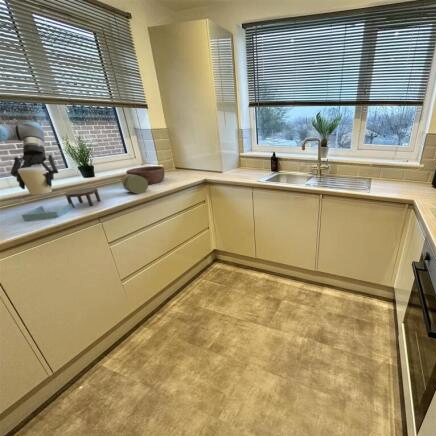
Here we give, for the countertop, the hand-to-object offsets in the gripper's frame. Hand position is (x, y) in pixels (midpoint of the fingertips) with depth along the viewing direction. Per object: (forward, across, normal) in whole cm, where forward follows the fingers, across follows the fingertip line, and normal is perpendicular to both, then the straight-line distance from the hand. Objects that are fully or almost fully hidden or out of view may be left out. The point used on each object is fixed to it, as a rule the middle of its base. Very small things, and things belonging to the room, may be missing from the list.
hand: (36, 186), depth 114 cm
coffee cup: (+1, 0, -5) cm, 5 cm away
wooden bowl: (-28, -45, -50) cm, 73 cm away
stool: (+2, -13, -20) cm, 24 cm away
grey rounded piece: (-8, -37, -30) cm, 49 cm away
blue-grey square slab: (+9, 0, -13) cm, 16 cm away
